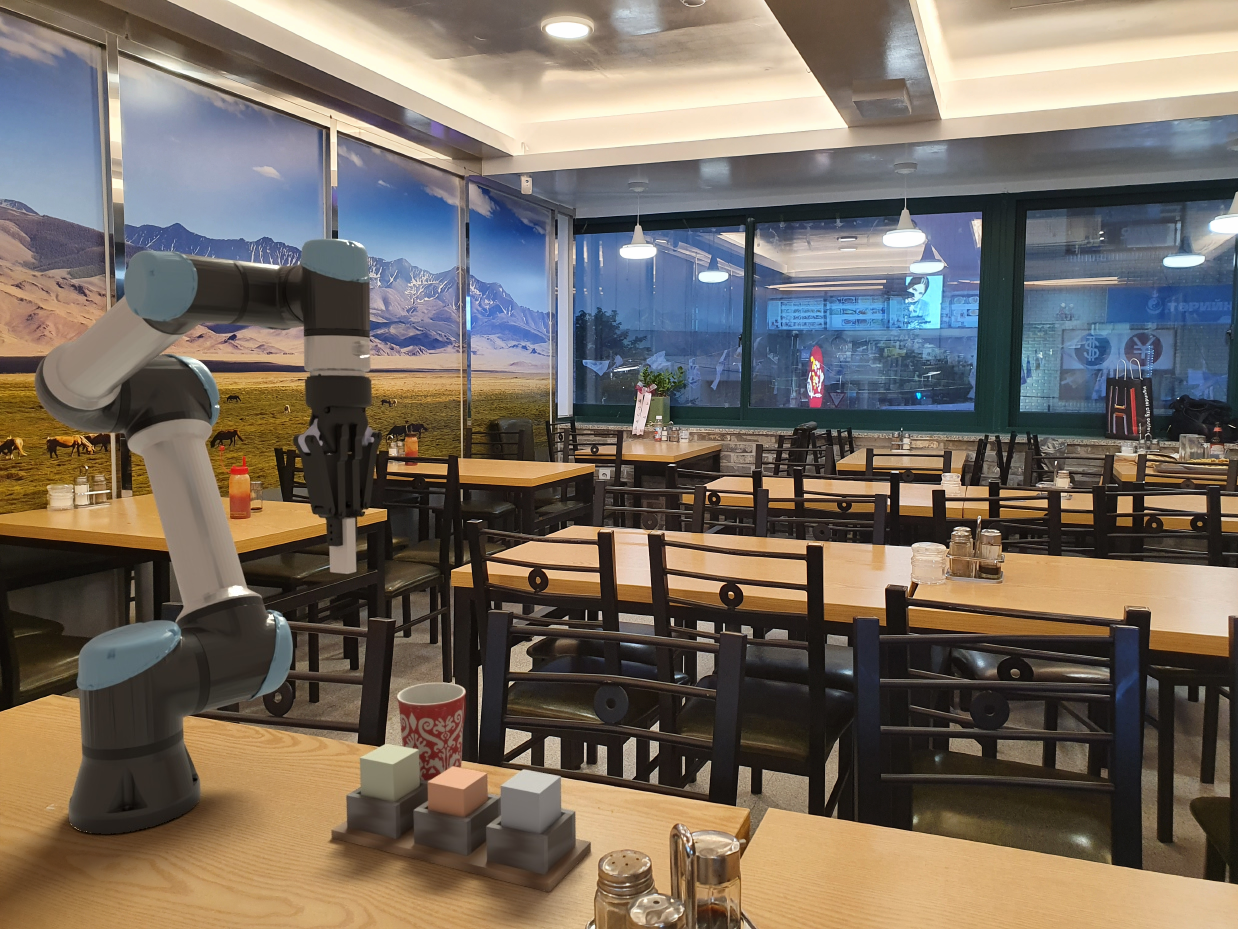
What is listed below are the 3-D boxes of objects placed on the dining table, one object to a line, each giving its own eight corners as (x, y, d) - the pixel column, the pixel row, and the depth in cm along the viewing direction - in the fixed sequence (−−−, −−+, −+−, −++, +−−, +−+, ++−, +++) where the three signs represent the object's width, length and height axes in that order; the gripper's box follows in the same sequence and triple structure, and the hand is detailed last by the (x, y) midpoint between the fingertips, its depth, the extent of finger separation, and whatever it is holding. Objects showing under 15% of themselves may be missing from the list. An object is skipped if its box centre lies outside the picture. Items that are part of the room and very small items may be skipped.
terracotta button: (428, 831, 106) (427, 782, 106) (453, 814, 111) (452, 766, 111) (464, 840, 104) (463, 789, 104) (488, 821, 109) (487, 773, 108)
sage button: (361, 805, 111) (359, 757, 110) (387, 789, 115) (386, 743, 115) (394, 813, 108) (392, 764, 108) (419, 796, 113) (418, 749, 113)
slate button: (501, 837, 102) (500, 785, 102) (524, 819, 107) (523, 769, 106) (540, 846, 100) (539, 793, 100) (561, 827, 105) (560, 776, 104)
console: (331, 837, 110) (330, 797, 109) (385, 804, 119) (384, 767, 118) (549, 892, 97) (548, 847, 97) (590, 850, 106) (590, 808, 106)
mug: (444, 809, 117) (442, 707, 116) (385, 798, 120) (383, 699, 119) (492, 772, 129) (490, 678, 128) (437, 763, 132) (435, 672, 131)
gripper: (323, 372, 100) (329, 584, 101) (399, 375, 112) (402, 565, 113) (272, 373, 103) (278, 579, 104) (350, 375, 115) (355, 560, 116)
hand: (343, 571), depth 109 cm, fingers closed
